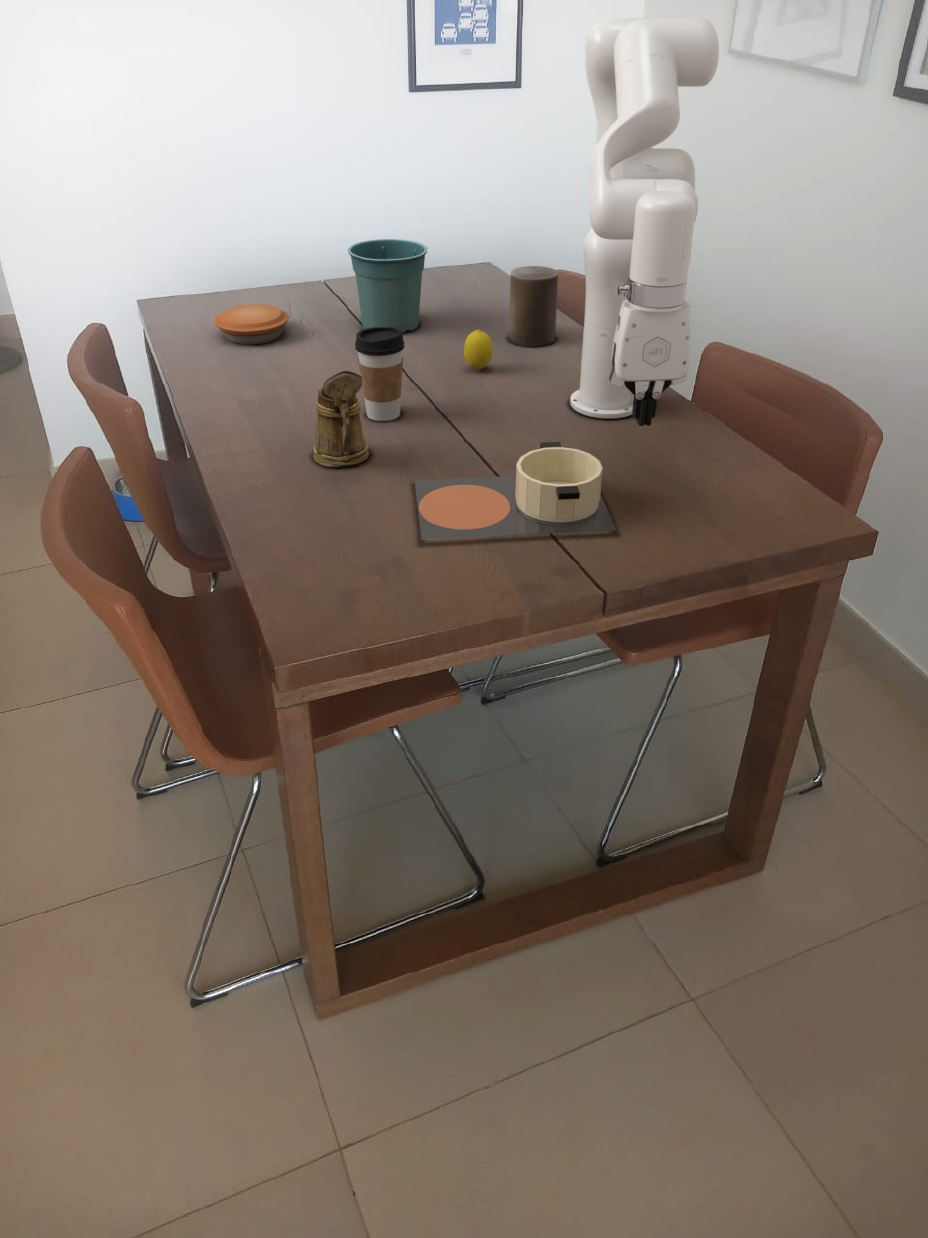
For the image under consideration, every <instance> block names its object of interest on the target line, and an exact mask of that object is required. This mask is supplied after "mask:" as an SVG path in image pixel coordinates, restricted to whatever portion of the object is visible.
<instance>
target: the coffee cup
mask: <svg viewBox="0 0 928 1238" xmlns="http://www.w3.org/2000/svg"><path fill="white" fill-rule="evenodd" d="M354 346H355V347H354V348H355V351H356V352H357V354H358V360H357V361H358V368H359V375H360V376H361V377H362V387H361V388H362V393H363V397H364V405H365V412H366V417H367V418H368V419H369V420H372V421H375V422H389V421H393V420H396V419H398V418H399V417H400V415H401V399H402V385H403V368H404V367H403V366H404V357H403V350H404V349H405V340H404V335H403V333H402V331H401V329H399V328H396V327H373V328H367V329H365V328H363V329H361V330H359V331H357V333H356V334H355V342H354Z"/></svg>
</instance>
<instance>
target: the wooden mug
mask: <svg viewBox="0 0 928 1238" xmlns="http://www.w3.org/2000/svg"><path fill="white" fill-rule="evenodd" d="M362 388H363V387H362V377H361V375H360V374H358V373H356V372H353V371H349V370H343V371H340V372H337V373H336V374H334V375H332V376H330V377H329V378H328V379H326V380H325V382H324V383H323V386H322V387H321V388H320V389H319V390H318V391H317V398H316V401H315V411H316V415H317V416H316V426H315V427H316V429H315V430H316V432H315V444H314V446H313V453H312V454H313V459H314V461H315V462H316V463H317V464H320V465H321V466H324V467H328V468H337V469H341V468H348V467H354V466H358V465H360V464H363V462H365V461H366V460H367V459H368V457H369V455H370V452H369V447H368V443H367V442H366V440H365V435H364V430H363V425H362V421H361V416H360V415H361V414H360V412H361V411H362V407H361V404H360V400H359V398H358V396H357V394H358V393H359V392H360V390H361V389H362Z"/></svg>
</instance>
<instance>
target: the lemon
mask: <svg viewBox="0 0 928 1238" xmlns="http://www.w3.org/2000/svg"><path fill="white" fill-rule="evenodd" d="M493 353H494V349H493V343H492V339H491V337H490V336H489V335H488V334H487V332H485V331H482V330H481V329H476V330H474V331H472V332H471V333H470V334H468V335H467V337H466V339H465V342H464V345H463V354H464V358H465V361H466V363H467V364H468V365H469V366H470V367H472V368H474V369H475V370H476V371H480V370H481V369H482V368H484V367H486V366H488V365H489V363H490V362H491V360H492V358H493Z"/></svg>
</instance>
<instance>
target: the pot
mask: <svg viewBox="0 0 928 1238" xmlns="http://www.w3.org/2000/svg"><path fill="white" fill-rule="evenodd" d="M539 445H540V446H539V448H538V449H533V450H529V451H528V452H527V453H524V454H523V455H521V456H520V457H519V459H518V461H517V462H516V464H515V465H516V466H515V467H516V468H515V476H516V493H515V497H516V504H517V506H518V508H519V509H520V510H521V511H522V512H523V513H525V514H526V515H528V516H530V517H532V518H535V519H538V520H542V521H547V522H558V523H561V522H573V521H578V520H582V519H585V518H587V517H589V516H591V515H592V514H593V513H595V511H596V510H597V508H598V506H599V501H600V494H601V492H602V482H603V481H602V479H603V471H604V470H603V466H602V463H601V461H600V459H598V458H597V457H595V456H594V455H593V454H591V453H590V452H587V451H583V450H581V449H578V448H570V447H563V446H562V444H561V441H548V442H540V444H539Z"/></svg>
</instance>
